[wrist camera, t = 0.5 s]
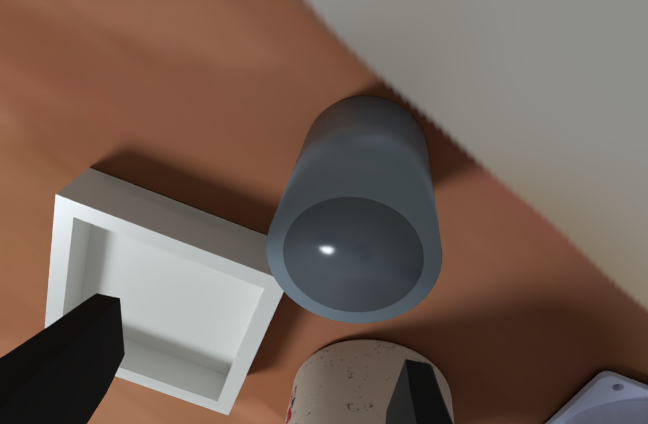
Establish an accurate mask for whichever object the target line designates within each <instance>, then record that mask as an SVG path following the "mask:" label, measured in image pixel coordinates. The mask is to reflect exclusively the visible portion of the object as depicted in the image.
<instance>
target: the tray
mask: <svg viewBox="0 0 648 424" xmlns="http://www.w3.org/2000/svg"><path fill="white" fill-rule="evenodd" d="M266 242H267V236H266V235H264V234H261V233H259V232H256V231H253V230H251V229H248V228H246V227H243V226H240V225H238V224H235V223H233V222H230V221H227V220H225V219H222V218H220V217H217V216H214V215H212V214H209V213H207V212H204V211H201V210H199V209H196V208H194V207H191V206H188V205H186V204H183V203H181V202H178V201H175V200H173V199H170V198H168V197H165V196H162V195H160V194H157V193H155V192H152V191H149V190H147V189H144V188H142V187H139V186H136V185H134V184H131V183H129V182H126V181H123V180H121V179H118V178H116V177H113V176H110V175H108V174H105V173H103V172H100V171H97V170H95V169H92V168H90V167H89V168H87V169H86V170H85V171H84V172H83V173H81V174H80V175H79V176H78V177H76V178H75V179H74V180H73V181H72V182H70V183H69V184H68V185H67V186H65V187H64V188H63V189H62V190H61V191H59V192H58V193H57V194H56V198H55V210H54V222H53V234H52V246H51V258H50V270H49V282H48V294H47V306H46V318H45V328H47V327H48V326H50V325H51V324H52V323H54V322H55V321H57V320H58V319H60V318H61V317H63V316H64V315H65V314H67V313H68V312H70V311H71V310H73V309H74V308H75V307H77V306H78V305H80V304H81V303H83V302H84V301H85V300H87V299H88V298H90V297H91V296H93V295H94V294H96V293H98V294H103V295H107V296H112V297H117V298H120V303H121V315H122V327H123V339H124V351H125V355H124V357H123V360H122V362H121V364H120V366H119V368H118V370H117V372H116V374H115V376H117V377H119V378H122V379H125V380H128V381H131V382H134V383H137V384H140V385H142V386H145V387H148V388H151V389H154V390H157V391H160V392H162V393H165V394H168V395H171V396H174V397H177V398H180V399H183V400H185V401H188V402H191V403H194V404H197V405H200V406H203V407H205V408H208V409H211V410H214V411H217V412H220V413H223V414H226V415H229V413H230V411H231V408H232V406H233V404H234V402H235V399H236V397H237V395H238V393H239V390H240V388H241V386H242V384H243V382H244V379H245V377H246V375H247V373H248V370H249V368H250V366H251V364H252V361H253V359H254V357H255V355H256V352H257V350H258V348H259V346H260V344H261V341H262V339H263V337H264V335H265V332H266V330H267V328H268V326H269V323H270V321H271V319H272V317H273V314H274V312H275V310H276V308H277V306H278V303H279V301H280V299H281V297H282V294H283V292H284V291H283V290H282V289H281V287H280V286H279V284H278V283H277V282H276V280H275V278H274V276H273V274H272V272H271V270H270V267H269V264H268V260H267V254H266Z"/></svg>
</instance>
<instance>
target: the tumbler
mask: <svg viewBox="0 0 648 424" xmlns="http://www.w3.org/2000/svg"><path fill="white" fill-rule="evenodd" d="M266 254H267V260H268V264H269V267H270V270H271V272H272V274H273V276H274V278H275V280H276V282H277V283H278V284H279V286H280V287H281V289H282V290H283V291H284V292H285V293H286V294H287V295H288V296H289V297H290V298H291V299H292V300H293V301H295V302H296V303H297V304H299V305H300V306H302V307H303V308H305V309H307V310H308V311H310V312H312V313H314V314H317V315H319V316H321V317H324V318H327V319H331V320H335V321H339V322H346V323H373V322H379V321H384V320H387V319H391V318H394V317H396V316H399V315H401V314H403V313H405V312H407V311H409V310H410V309H412V308H413V307H415V306H416V305H417V304H419V303H420V302H421V301H422V300H423V299H424V298H425V297H426V296H427V295H428V293H429V292H430V291H431V290H432V288H433V286H434V285H435V283H436V281H437V279H438V276H439V273H440V269H441V265H442V248H441V241H440V233H439V226H438V219H437V212H436V205H435V197H434V190H433V183H432V176H431V168H430V161H429V154H428V147H427V141H426V137H425V134H424V132H423V130H422V128H421V126H420V125H419V123H418V121H417V120H416V119H415V118H414V117H413V115H412V114H411V113H409V112H408V111H407V110H406V109H405V108H403V107H402V106H400V105H399V104H397V103H395V102H393V101H390V100H387V99H384V98H380V97H375V96H356V97H350V98H347V99H344V100H341V101H339V102H336V103H334V104H333V105H331V106H330V107H328V108H327V109H325V110H324V111H323V112H322V113H321V114H320V115H319V116H318V117H317V118H316V119H315V121H314V122H313V124H312V125H311V127H310V130H309V132H308V134H307V136H306V139H305V141H304V144H303V146H302V149H301V151H300V154H299V156H298V159H297V161H296V164H295V166H294V169H293V171H292V173H291V176H290V178H289V181H288V183H287V186H286V188H285V191H284V193H283V196H282V198H281V201H280V203H279V206H278V208H277V211H276V213H275V215H274V218H273V220H272V223H271V225H270V228H269V232H268V235H267V242H266Z"/></svg>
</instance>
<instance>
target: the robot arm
mask: <svg viewBox="0 0 648 424" xmlns="http://www.w3.org/2000/svg"><path fill="white" fill-rule="evenodd" d="M124 355H125V351H124V339H123V327H122V315H121V303H120V298H117V297H112V296H107V295H103V294H98V293H96V294H94V295H93V296H91V297H90V298H88V299H87V300H85V301H84V302H83V303H81V304H80V305H78V306H77V307H75V308H74V309H73V310H71V311H70V312H68V313H67V314H65V315H64V316H63V317H61V318H60V319H58V320H57V321H55V322H54V323H52V324H51V325H50V326H48V327H47V328H45V329H44V330H42V331H41V332H39V333H38V334H36V335H35V336H33V337H32V338H30V339H29V340H27V341H26V342H24V343H23V344H21V345H20V346H18V347H17V348H15V349H14V350H12V351H11V352H9V353H8V354H6V355H5V356H3V357H1V358H0V424H87V423H88V421H89V419H90V418H91V416H92V415H93V413H94V412H95V410H96V408H97V407H98V405H99V404H100V402H101V401H102V399H103V397H104V396H105V394H106V392H107V390H108V388H109V386H110V384H111V382H112V380H113V378H114V376H115V374H116V372H117V370H118V368H119V366H120V364H121V362H122V360H123V357H124ZM385 424H453V422H452V419H451V417H450V414H449V412H448V409H447V406H446V404H445V401H444V399H443V396H442V393H441V390H440V388H439V385H438V382H437V379H436V376H435V373H434V370H433V368H432V366H431V365H430V364H427V363H423V362H418V361H413V360H409V359H405V361H404V364H403V367H402V369H401V372H400V375H399V378H398V380H397V383H396V386H395V389H394V391H393V394H392V397H391V400H390V402H389V405H388V408H387V411H386V421H385ZM545 424H648V385H646V384H643V383H640V382H638V381H635V380H633V379H630V378H627V377H625V376H622V375H619V374H617V373H614V372H611V371H604V372H601V373H599V374H598V375H597V376H596V377H594V378H593V379H592V380H591V381H590V382H589V383H588V384H587V385H586V386H585V387H584V388H583V389H582V390H581V391H580V392H578V393H577V394H576V395H575V396H574V397H573V398H572V399H571V400H570V401H569V402H568V403H567V404H566V405H565V406H563V407H562V408H561V409H560V410H559V411H558V412H557V413H556V414H555V415H554V416H553V417H552V418H551V419H550V420H549V421H547V422H546V423H545Z"/></svg>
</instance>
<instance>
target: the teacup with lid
mask: <svg viewBox="0 0 648 424" xmlns="http://www.w3.org/2000/svg"><path fill="white" fill-rule="evenodd" d="M405 359H409V360H413V361H418V362H423V363H427V364H430V365H431V366H432V368H433V370H434V373H435V376H436V379H437V382H438V385H439V388H440V390H441V393H442V396H443V399H444V401H445V404H446V406H447V409H448V412H449V414H450V417H451V419H452V422H453V424H454V415H453V407H452V398H451V392H450V388H449V386H448V383H447V381H446V379H445V378H444V376H443V375H442V373H441V372H440V371H439V369H438V368H437V367H436V366H435V365H434V364H433V363H431V362H430V361H429V360H428V359H426V358H425V357H423V356H422V355H420V354H419V353H417V352H415V351H413V350H411V349H409V348H406V347H404V346H401V345H398V344H394V343H390V342H386V341H379V340H350V341H344V342H339V343H336V344H333V345H330V346H328V347H325V348H323V349H321V350H319V351H318V352H316V353H314V354H313V355H312V356H310V357H309V358H308V359H307V360H306V361H305V362H304V363H303V365H302V366H301V367H300V369H299V370H298V372H297V374H296V377H295V380H294V384H293V388H292V393H291V397H290V402H289V406H288V411H287V416H286V420H285V424H385V421H386V411H387V408H388V405H389V402H390V400H391V397H392V394H393V391H394V389H395V386H396V383H397V380H398V378H399V375H400V372H401V369H402V367H403V364H404V361H405Z"/></svg>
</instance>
